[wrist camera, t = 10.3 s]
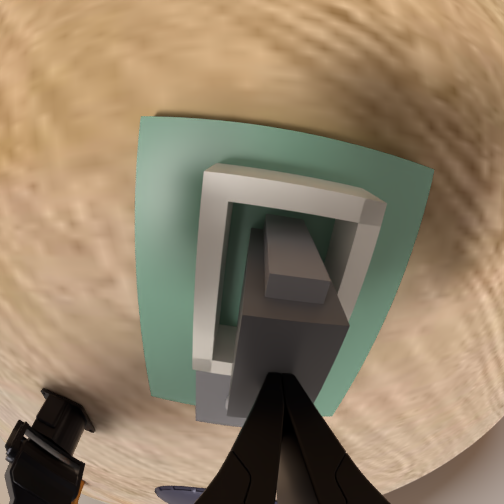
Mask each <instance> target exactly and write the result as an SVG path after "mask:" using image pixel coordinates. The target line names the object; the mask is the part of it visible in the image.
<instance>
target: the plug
mask: <svg viewBox="0 0 504 504" xmlns="http://www.w3.org/2000/svg"><path fill="white" fill-rule="evenodd" d="M349 327H350V325H349V322H348V320H347V317H346V315H345V312H344V310H343V307H342V305H341V303H340V300H339V298H338V295H337V293H336V291H335V288H334V286H333V284H332V281H331V279H330V277H329V274H328V272H327V270H326V268H325V265H324V263H323V261H322V259H321V256H320V254H319V252H318V250H317V248H316V245H315V243H314V241H313V239H312V237H311V235H310V233H309V231H308V229H307V227H306V225H305V223H304V220H303V219H298V218H291V217H285V216H279V215H272V214H266V217H265V223H264V229H258V228H251V232H250V238H249V245H248V252H247V259H246V265H245V272H244V279H243V286H242V293H241V299H240V306H239V313H238V322H237V330H236V339H235V347H234V355H233V364H232V373H231V381H230V390H229V398H228V407H227V416H230V417H238V418H247V416H248V414H249V412H250V410H251V408H252V406H253V404H254V402H255V400H256V397H257V395H258V393H259V391H260V389H261V387H262V384H263V382H264V380H265V378H266V376H267V373H268V372H278V373H280V374H282V373H290V374H294V375H295V376H296V378H297V379H298V381H299V382H300V384H301V385H302V387H303V389H304V390H305V392H306V393H307V395H308V396H309V398H310V399H311V401H312V402H313V404H314V402H315V400H316V398H317V396H318V394H319V392H320V391H321V389H322V387H323V385H324V382H325V380H326V378H327V376H328V374H329V372H330V370H331V368H332V366H333V364H334V361H335V359H336V357H337V355H338V353H339V350H340V348H341V346H342V344H343V341H344V339H345V337H346V334H347V332H348V329H349Z"/></svg>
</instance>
